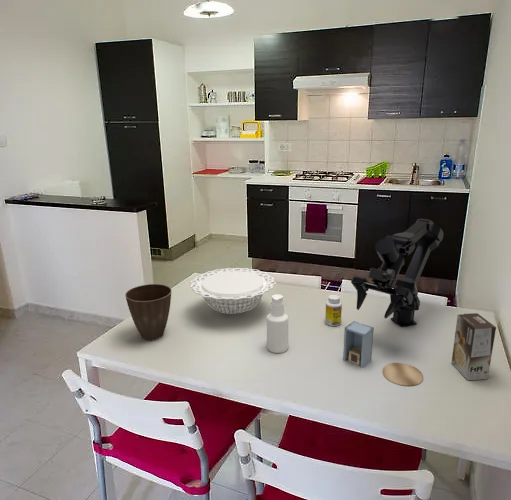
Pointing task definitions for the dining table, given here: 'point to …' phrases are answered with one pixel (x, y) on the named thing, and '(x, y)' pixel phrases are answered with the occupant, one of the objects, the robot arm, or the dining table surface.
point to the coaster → (402, 374)
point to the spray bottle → (277, 326)
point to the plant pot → (149, 309)
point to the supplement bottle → (333, 311)
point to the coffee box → (473, 346)
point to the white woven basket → (232, 288)
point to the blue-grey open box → (358, 341)
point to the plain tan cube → (355, 355)
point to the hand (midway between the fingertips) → (370, 313)
